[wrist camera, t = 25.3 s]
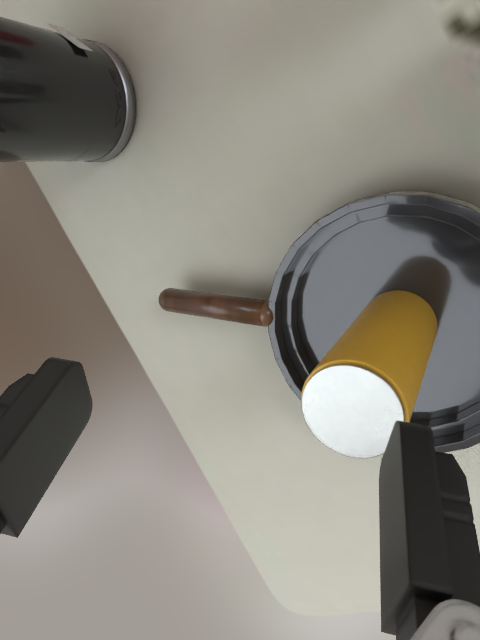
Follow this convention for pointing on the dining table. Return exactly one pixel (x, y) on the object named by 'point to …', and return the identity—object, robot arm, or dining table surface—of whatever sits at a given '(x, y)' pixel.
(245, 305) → the pan handle
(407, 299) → the can
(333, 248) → the pan
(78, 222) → the dining table surface
